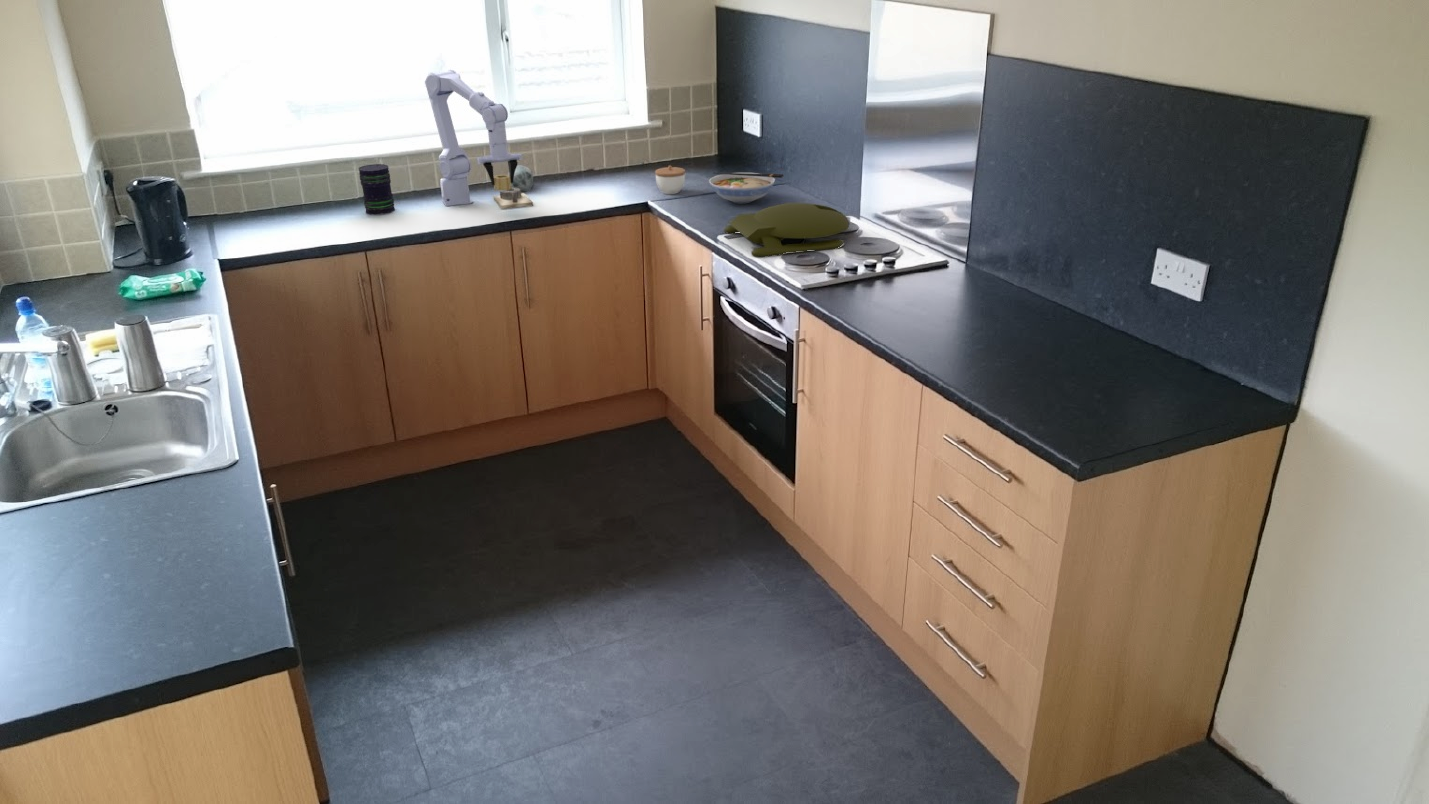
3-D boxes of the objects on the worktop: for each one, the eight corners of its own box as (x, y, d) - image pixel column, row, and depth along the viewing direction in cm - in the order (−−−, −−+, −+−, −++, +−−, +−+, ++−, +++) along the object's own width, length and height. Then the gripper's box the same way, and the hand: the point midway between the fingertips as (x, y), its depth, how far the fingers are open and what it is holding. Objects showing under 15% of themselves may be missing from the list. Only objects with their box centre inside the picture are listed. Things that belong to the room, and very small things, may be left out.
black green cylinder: (386, 215, 348) (379, 171, 341) (360, 214, 350) (352, 170, 343) (400, 207, 357) (393, 164, 350) (374, 206, 359) (367, 163, 352)
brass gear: (496, 191, 343) (494, 179, 342) (493, 187, 348) (491, 175, 346) (512, 189, 345) (511, 177, 343) (509, 185, 350) (508, 173, 348)
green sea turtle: (754, 260, 297) (754, 227, 293) (722, 232, 324) (721, 201, 320) (865, 247, 306) (867, 215, 302) (825, 221, 333) (825, 191, 329)
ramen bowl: (697, 207, 350) (696, 183, 347) (718, 191, 370) (718, 168, 366) (767, 212, 343) (767, 187, 339) (785, 195, 362) (786, 172, 359)
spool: (539, 182, 372) (524, 158, 369) (517, 197, 371) (501, 172, 369) (538, 183, 385) (523, 160, 382) (517, 197, 384) (502, 173, 382)
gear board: (501, 209, 352) (499, 196, 350) (493, 199, 364) (492, 187, 362) (533, 205, 356) (531, 192, 354) (524, 196, 368) (523, 183, 366)
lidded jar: (675, 197, 363) (674, 170, 359) (650, 193, 368) (648, 167, 364) (691, 190, 371) (690, 164, 367) (666, 187, 376) (665, 161, 372)
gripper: (478, 146, 334) (482, 188, 340) (522, 142, 339) (526, 183, 345) (474, 142, 340) (479, 183, 346) (517, 139, 345) (521, 179, 351)
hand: (502, 183), depth 346 cm, fingers closed on brass gear, 6 cm apart
